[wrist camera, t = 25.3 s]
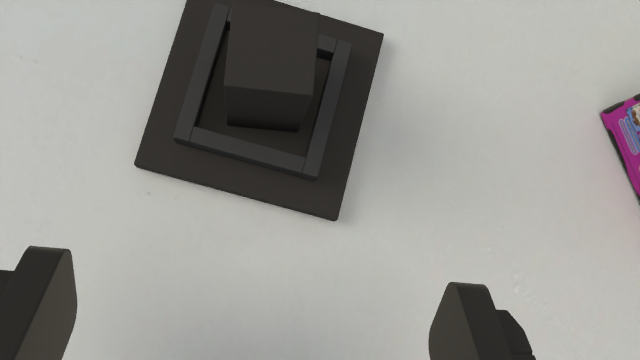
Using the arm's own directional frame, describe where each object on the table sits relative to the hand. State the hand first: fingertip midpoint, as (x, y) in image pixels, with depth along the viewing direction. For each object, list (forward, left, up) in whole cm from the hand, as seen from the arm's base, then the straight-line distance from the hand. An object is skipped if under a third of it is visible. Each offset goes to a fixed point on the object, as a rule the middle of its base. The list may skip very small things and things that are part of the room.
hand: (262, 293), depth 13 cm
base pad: (-2, +11, -24) cm, 27 cm away
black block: (-2, +12, -23) cm, 26 cm away
